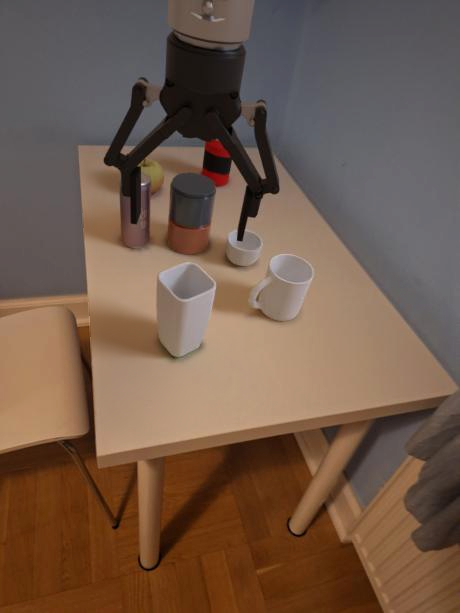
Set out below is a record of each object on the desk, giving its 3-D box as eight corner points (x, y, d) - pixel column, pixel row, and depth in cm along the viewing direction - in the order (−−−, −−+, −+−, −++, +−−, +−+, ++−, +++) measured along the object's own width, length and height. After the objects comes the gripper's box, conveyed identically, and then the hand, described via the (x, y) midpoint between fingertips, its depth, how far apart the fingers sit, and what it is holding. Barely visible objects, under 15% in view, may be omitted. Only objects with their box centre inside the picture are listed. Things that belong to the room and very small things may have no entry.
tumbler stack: (163, 250, 87) (166, 190, 77) (171, 226, 94) (174, 168, 84) (205, 257, 88) (214, 199, 78) (210, 233, 94) (218, 176, 84)
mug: (254, 332, 75) (266, 292, 68) (234, 301, 80) (243, 261, 72) (306, 316, 80) (322, 278, 73) (284, 289, 85) (297, 250, 77)
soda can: (197, 173, 113) (201, 130, 104) (221, 171, 116) (228, 130, 107) (207, 187, 108) (213, 144, 100) (232, 185, 111) (240, 143, 103)
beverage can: (142, 230, 91) (142, 168, 80) (154, 245, 88) (156, 182, 77) (116, 236, 88) (113, 172, 77) (128, 252, 85) (127, 188, 74)
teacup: (261, 271, 87) (266, 251, 84) (226, 271, 86) (230, 251, 82) (251, 243, 94) (256, 223, 90) (219, 242, 92) (223, 222, 89)
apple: (156, 178, 107) (157, 149, 102) (168, 198, 102) (170, 168, 96) (119, 181, 104) (118, 151, 98) (129, 202, 98) (128, 171, 92)
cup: (150, 337, 70) (152, 273, 60) (184, 321, 74) (192, 258, 64) (174, 366, 67) (180, 304, 56) (208, 348, 71) (221, 286, 60)
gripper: (56, 18, 34) (82, 227, 49) (343, 75, 36) (283, 259, 51) (84, 2, 39) (99, 195, 54) (332, 52, 41) (281, 226, 56)
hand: (188, 227), depth 53 cm, fingers open, 13 cm apart
